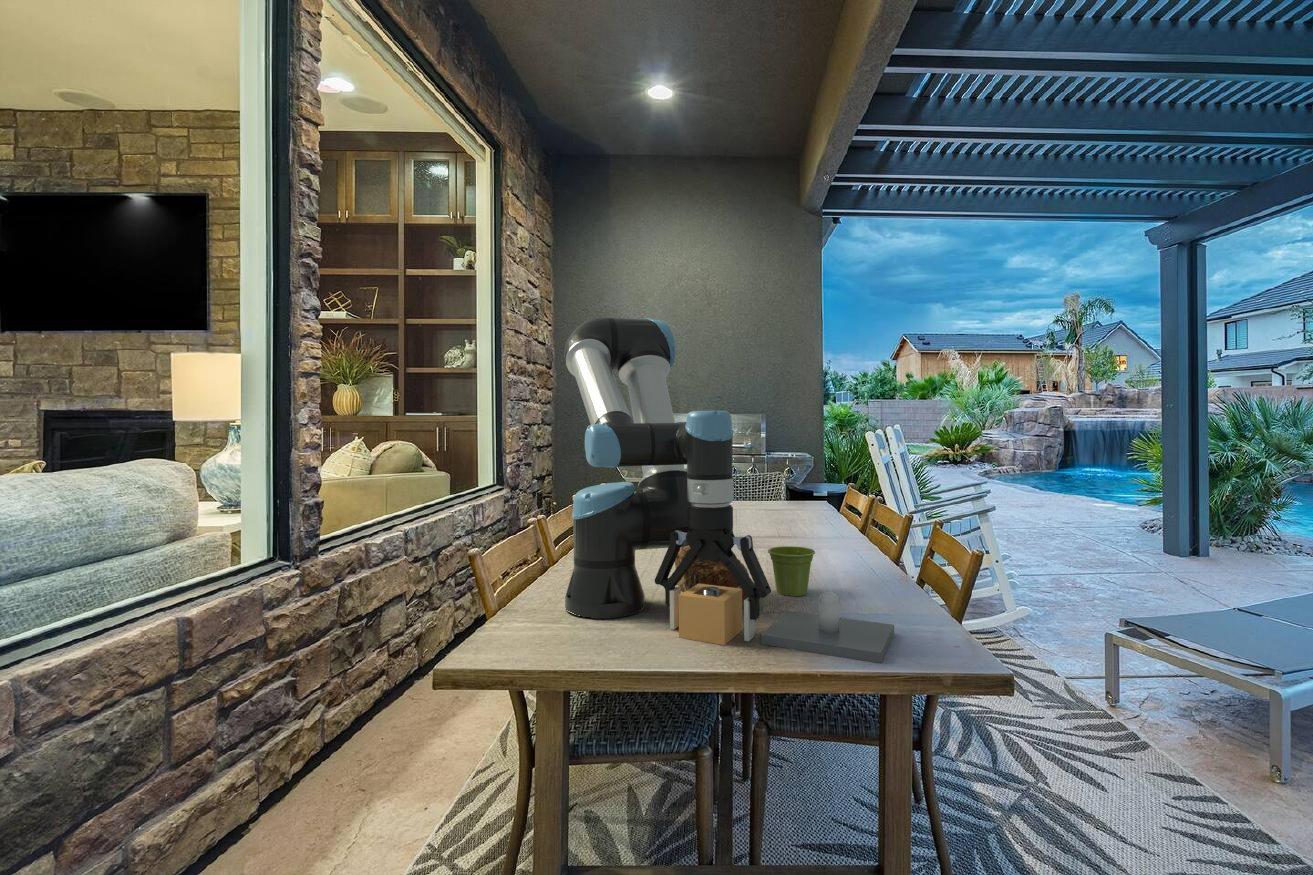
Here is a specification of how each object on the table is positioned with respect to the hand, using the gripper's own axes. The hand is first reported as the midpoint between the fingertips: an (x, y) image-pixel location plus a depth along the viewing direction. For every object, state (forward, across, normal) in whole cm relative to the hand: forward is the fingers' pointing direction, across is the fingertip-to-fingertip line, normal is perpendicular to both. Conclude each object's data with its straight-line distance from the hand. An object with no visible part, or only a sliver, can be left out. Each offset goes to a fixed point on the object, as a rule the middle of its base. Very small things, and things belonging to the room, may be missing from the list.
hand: (711, 632), depth 106 cm
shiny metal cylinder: (0, 0, 0) cm, 0 cm away
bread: (+1, -8, +19) cm, 21 cm away
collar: (0, 0, 0) cm, 0 cm away
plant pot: (0, +5, +30) cm, 30 cm away
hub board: (0, +18, +6) cm, 19 cm away
